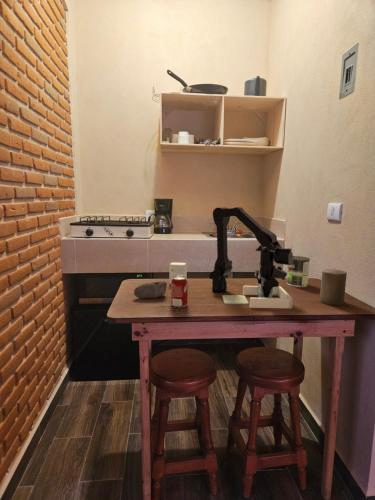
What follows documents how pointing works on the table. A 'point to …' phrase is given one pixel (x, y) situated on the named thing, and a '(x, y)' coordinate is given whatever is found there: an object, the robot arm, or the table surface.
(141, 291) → the perforated stone tool
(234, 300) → the sage pad
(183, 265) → the small box
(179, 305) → the soda can
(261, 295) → the slate block
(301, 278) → the clear lidded jar
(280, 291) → the open-sided box
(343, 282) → the pillar candle
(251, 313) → the table surface
